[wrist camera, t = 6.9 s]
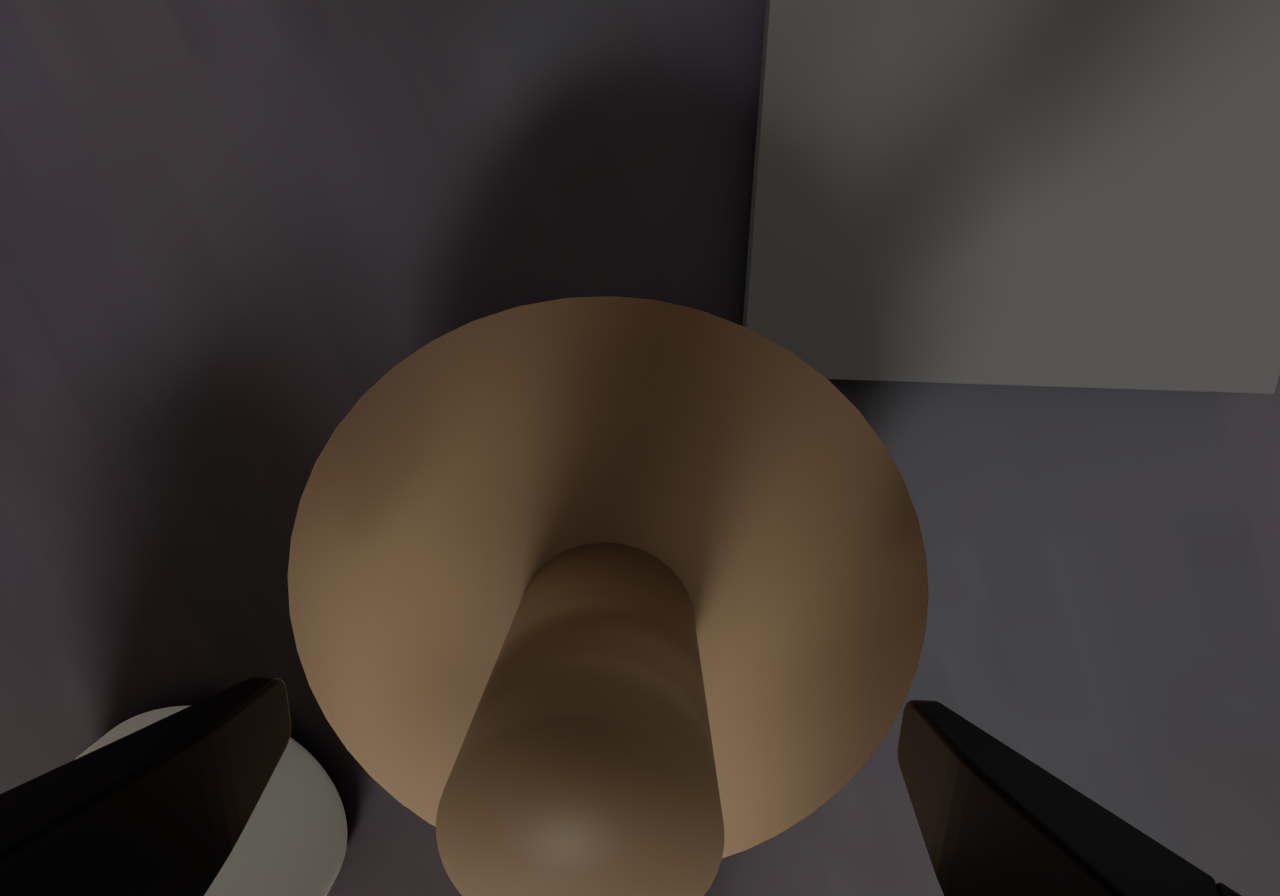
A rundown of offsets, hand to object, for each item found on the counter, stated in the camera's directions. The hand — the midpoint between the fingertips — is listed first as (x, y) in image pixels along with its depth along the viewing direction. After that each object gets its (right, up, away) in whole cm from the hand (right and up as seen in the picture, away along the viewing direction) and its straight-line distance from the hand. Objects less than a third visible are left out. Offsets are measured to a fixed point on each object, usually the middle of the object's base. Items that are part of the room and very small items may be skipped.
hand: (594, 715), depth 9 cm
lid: (0, +1, +3) cm, 3 cm away
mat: (+10, +12, +5) cm, 16 cm away
